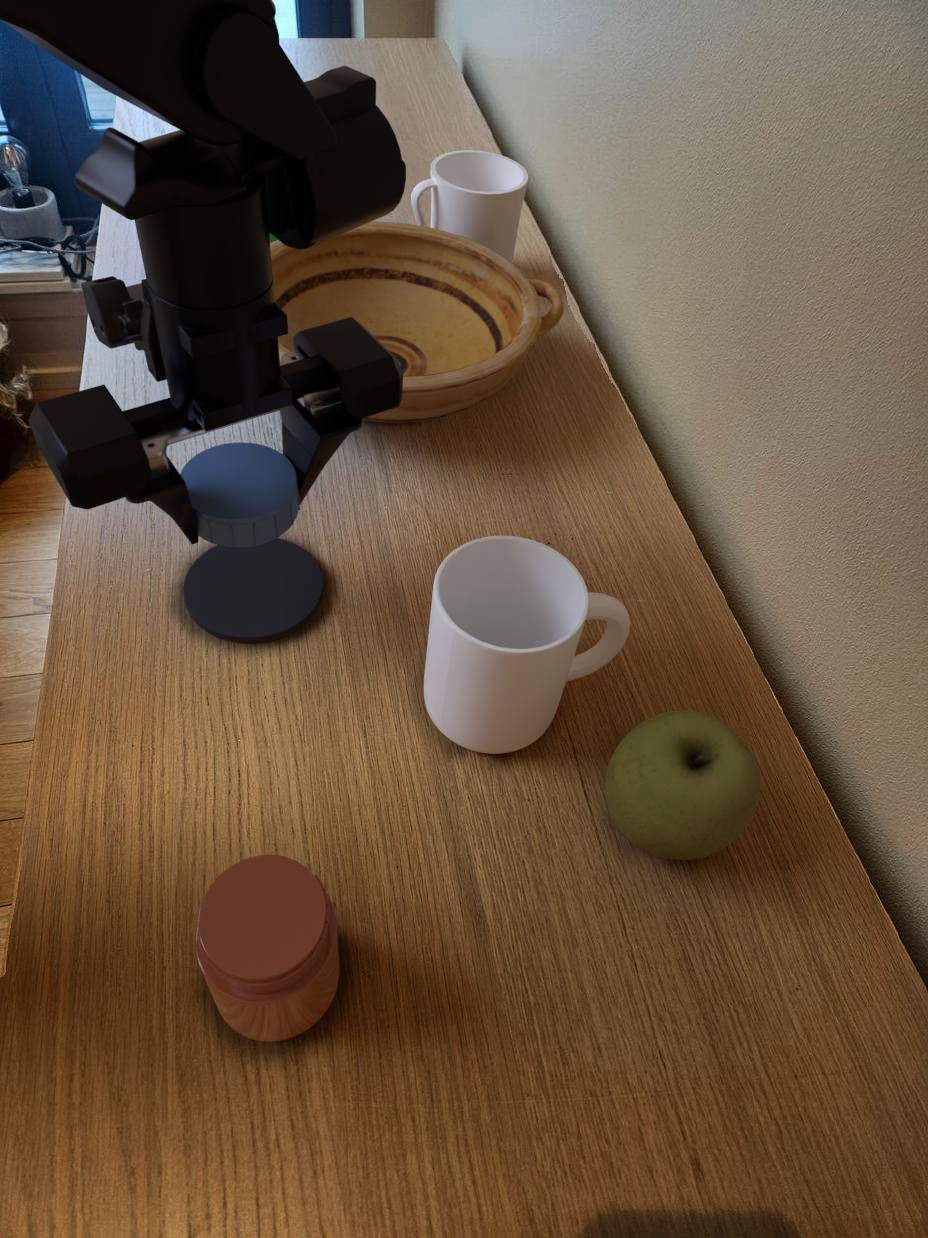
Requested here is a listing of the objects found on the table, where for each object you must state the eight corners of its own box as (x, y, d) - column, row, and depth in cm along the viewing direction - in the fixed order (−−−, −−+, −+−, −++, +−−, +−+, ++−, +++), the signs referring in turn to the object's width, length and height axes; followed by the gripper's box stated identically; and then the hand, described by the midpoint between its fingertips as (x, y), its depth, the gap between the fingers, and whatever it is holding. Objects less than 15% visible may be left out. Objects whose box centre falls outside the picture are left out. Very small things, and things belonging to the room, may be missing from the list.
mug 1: (490, 251, 89) (503, 146, 81) (527, 296, 84) (545, 188, 76) (391, 264, 86) (394, 155, 78) (424, 311, 81) (431, 200, 73)
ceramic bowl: (503, 292, 84) (514, 210, 78) (600, 449, 70) (623, 364, 64) (192, 317, 77) (177, 228, 70) (229, 499, 62) (215, 407, 56)
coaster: (220, 664, 53) (218, 658, 53) (162, 571, 57) (160, 565, 57) (348, 608, 57) (348, 602, 56) (284, 525, 61) (284, 519, 61)
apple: (755, 858, 48) (805, 797, 43) (629, 902, 46) (666, 844, 40) (687, 746, 52) (725, 677, 47) (569, 781, 50) (595, 714, 45)
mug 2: (588, 634, 57) (625, 523, 49) (629, 740, 52) (678, 634, 44) (411, 655, 55) (420, 541, 47) (436, 768, 50) (451, 662, 42)
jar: (247, 1070, 39) (226, 1021, 33) (192, 956, 42) (164, 892, 36) (362, 994, 42) (362, 935, 35) (303, 892, 44) (294, 821, 38)
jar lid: (267, 458, 54) (265, 429, 53) (319, 523, 51) (318, 494, 49) (165, 493, 52) (159, 463, 50) (213, 563, 48) (208, 534, 47)
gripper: (307, 172, 48) (317, 404, 60) (-52, 239, 40) (42, 490, 52) (414, 265, 43) (402, 499, 55) (24, 364, 35) (110, 612, 47)
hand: (244, 519), depth 52 cm, fingers closed on jar lid, 6 cm apart
